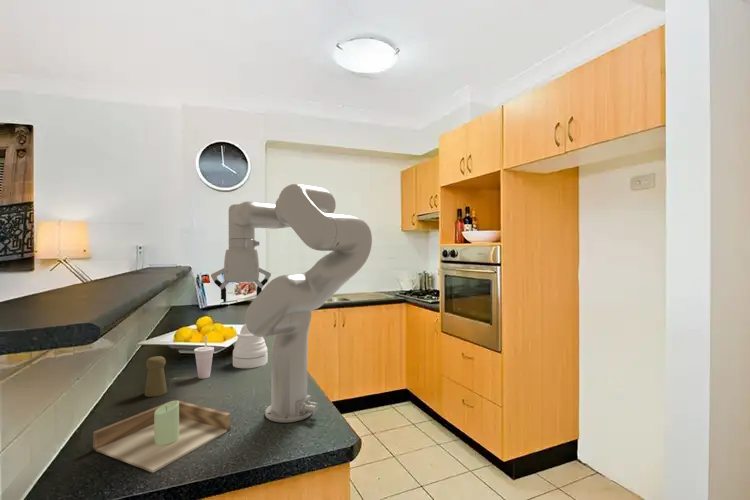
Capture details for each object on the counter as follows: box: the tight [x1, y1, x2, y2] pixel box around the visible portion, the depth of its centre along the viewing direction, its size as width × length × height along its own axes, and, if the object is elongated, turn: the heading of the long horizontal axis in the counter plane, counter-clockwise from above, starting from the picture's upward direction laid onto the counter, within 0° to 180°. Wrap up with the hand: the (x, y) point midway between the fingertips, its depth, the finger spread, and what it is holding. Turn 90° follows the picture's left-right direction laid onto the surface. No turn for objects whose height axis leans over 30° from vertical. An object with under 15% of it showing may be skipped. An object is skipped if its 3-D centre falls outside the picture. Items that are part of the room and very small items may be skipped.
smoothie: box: [193, 335, 215, 379], centre depth 133 cm, size 6×6×14 cm
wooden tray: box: [92, 399, 231, 474], centre depth 89 cm, size 20×20×4 cm
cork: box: [144, 355, 168, 398], centre depth 118 cm, size 6×6×11 cm
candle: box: [154, 400, 180, 445], centre depth 88 cm, size 5×5×8 cm
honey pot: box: [232, 322, 269, 369], centre depth 149 cm, size 13×13×18 cm
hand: (241, 301), depth 118 cm, fingers open, 9 cm apart
